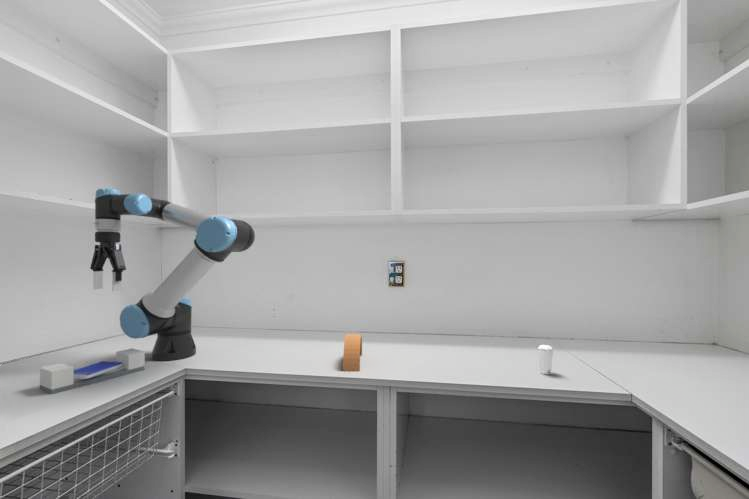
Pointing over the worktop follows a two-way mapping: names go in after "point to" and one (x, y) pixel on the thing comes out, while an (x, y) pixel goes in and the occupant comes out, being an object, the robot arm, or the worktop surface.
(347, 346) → the arch
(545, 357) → the milkshake
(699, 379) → the worktop surface
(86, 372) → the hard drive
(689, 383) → the worktop surface
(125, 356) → the rail board
